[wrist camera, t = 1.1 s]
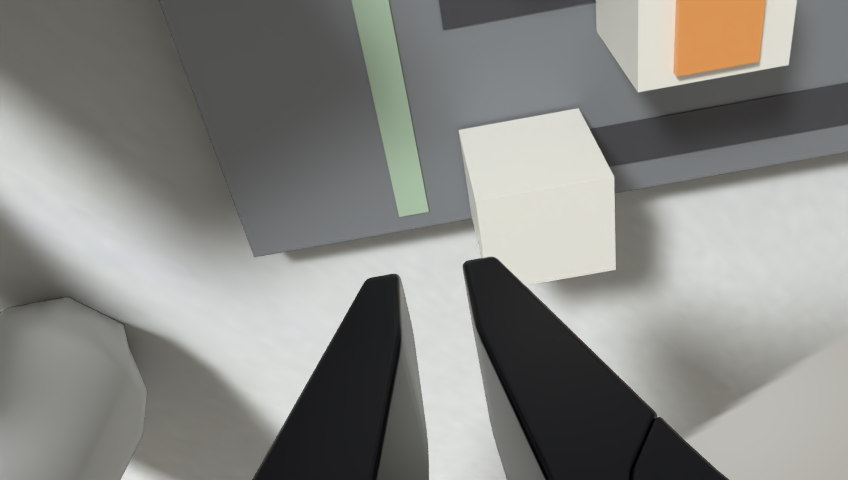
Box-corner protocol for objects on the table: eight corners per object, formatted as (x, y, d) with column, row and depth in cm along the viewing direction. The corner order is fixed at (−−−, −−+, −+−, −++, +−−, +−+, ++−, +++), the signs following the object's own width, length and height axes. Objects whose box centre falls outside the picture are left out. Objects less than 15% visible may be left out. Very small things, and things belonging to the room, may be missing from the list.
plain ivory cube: (578, 107, 19) (614, 176, 17) (582, 194, 21) (616, 269, 18) (458, 130, 19) (475, 201, 17) (471, 214, 21) (488, 292, 18)
